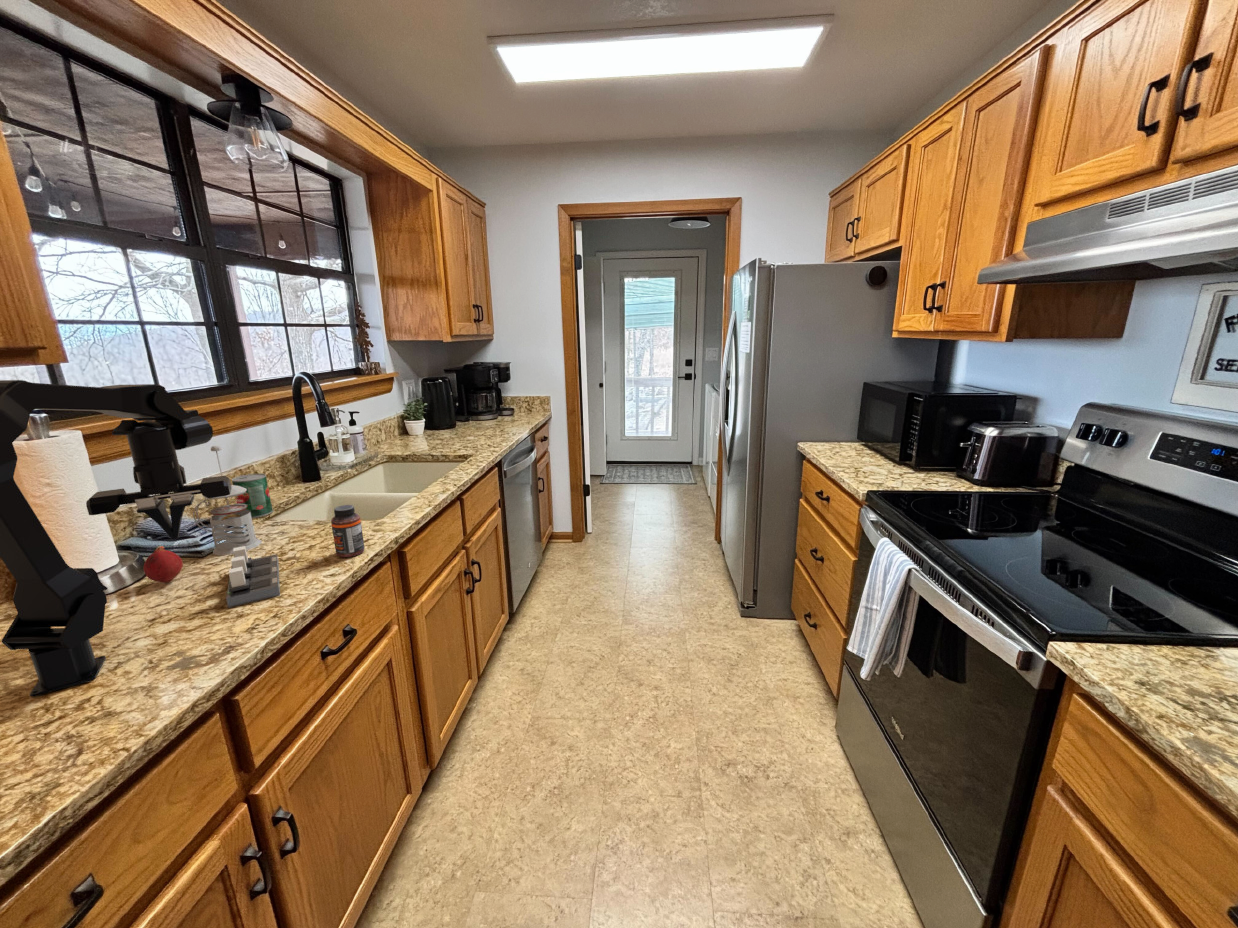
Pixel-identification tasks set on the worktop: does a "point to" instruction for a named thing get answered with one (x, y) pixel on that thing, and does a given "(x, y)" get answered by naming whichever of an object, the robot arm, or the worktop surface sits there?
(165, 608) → the worktop surface
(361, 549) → the supplement bottle
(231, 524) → the french press
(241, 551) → the far breaker handle
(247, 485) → the canned tomato
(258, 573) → the breaker panel
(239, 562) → the handle
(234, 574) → the breaker handle
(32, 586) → the robot arm
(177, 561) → the onion
